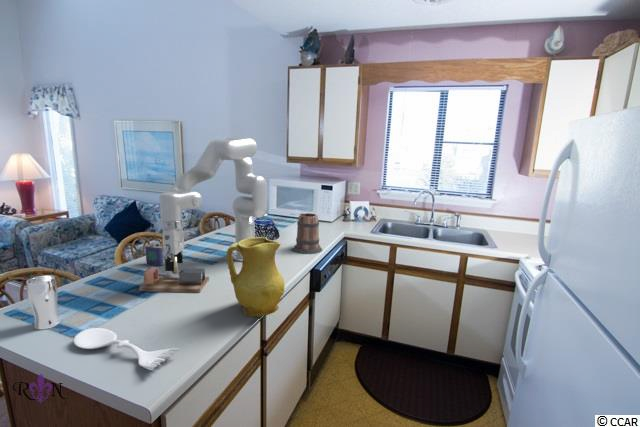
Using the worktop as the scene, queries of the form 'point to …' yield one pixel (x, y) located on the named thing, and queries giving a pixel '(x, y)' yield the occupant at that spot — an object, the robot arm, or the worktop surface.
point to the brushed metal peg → (173, 272)
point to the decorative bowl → (266, 228)
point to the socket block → (151, 275)
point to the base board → (171, 286)
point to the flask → (154, 255)
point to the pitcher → (256, 276)
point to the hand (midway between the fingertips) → (174, 266)
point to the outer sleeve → (191, 276)
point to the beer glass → (43, 301)
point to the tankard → (307, 234)
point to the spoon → (106, 337)
